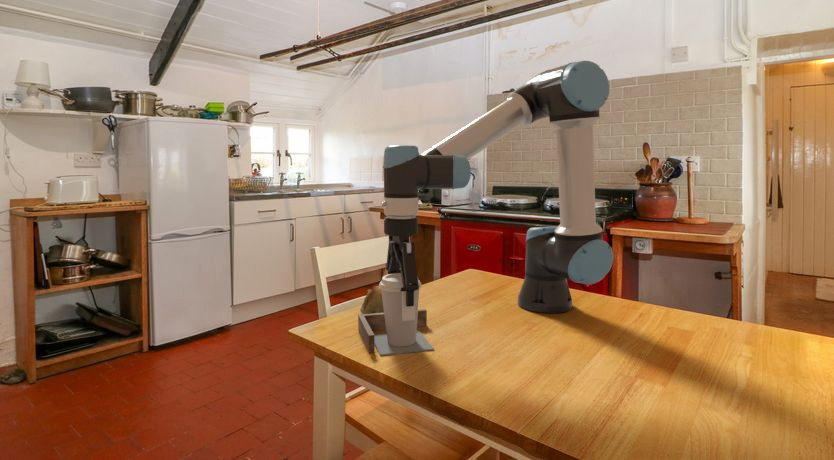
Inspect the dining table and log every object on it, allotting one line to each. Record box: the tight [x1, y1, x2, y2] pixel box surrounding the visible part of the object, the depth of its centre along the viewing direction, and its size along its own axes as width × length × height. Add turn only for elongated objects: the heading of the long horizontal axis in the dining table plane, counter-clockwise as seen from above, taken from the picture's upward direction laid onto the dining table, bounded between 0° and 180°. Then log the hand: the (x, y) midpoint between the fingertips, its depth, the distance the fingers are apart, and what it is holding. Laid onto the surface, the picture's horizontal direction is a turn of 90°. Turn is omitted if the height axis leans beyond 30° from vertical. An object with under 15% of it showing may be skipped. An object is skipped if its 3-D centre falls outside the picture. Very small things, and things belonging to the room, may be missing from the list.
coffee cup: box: [378, 273, 422, 347], centre depth 107 cm, size 10×10×15 cm
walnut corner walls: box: [357, 308, 428, 354], centre depth 111 cm, size 17×15×4 cm
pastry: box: [359, 285, 384, 314], centre depth 129 cm, size 14×12×8 cm
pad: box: [374, 329, 435, 357], centre depth 108 cm, size 12×12×1 cm
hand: (401, 310), depth 107 cm, fingers open, 13 cm apart
